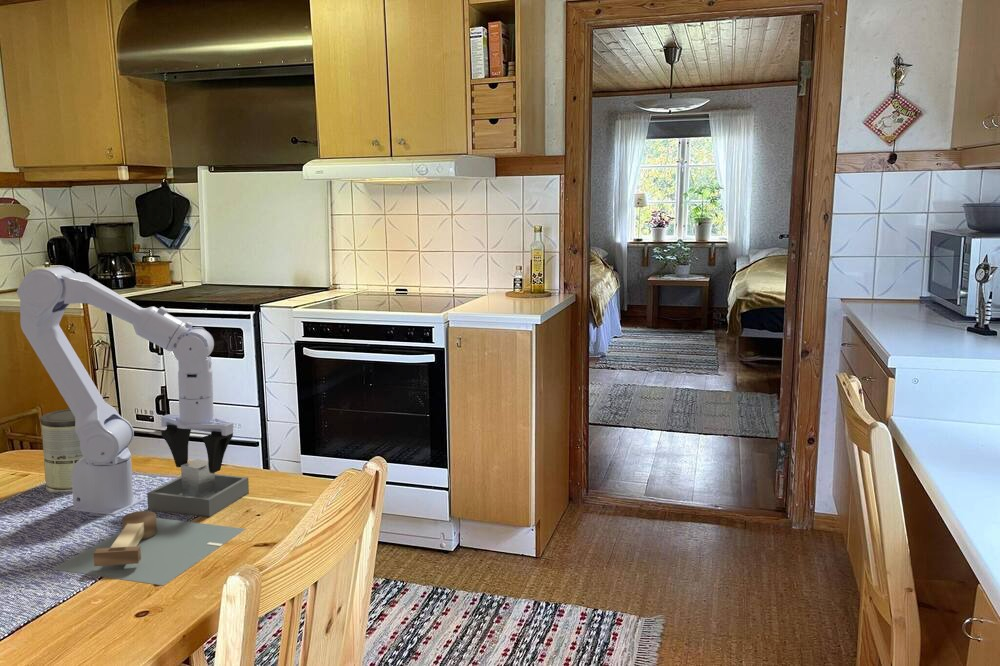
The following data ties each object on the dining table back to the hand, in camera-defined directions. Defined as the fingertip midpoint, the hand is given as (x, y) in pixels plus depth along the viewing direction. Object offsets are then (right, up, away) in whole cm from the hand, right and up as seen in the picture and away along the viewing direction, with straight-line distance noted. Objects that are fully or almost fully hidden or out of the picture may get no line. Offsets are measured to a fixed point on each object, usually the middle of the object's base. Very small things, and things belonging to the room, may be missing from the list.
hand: (198, 468), depth 140 cm
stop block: (0, -6, +1) cm, 6 cm away
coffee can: (-28, -5, +10) cm, 30 cm away
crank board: (+1, -9, -19) cm, 21 cm away
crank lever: (-3, -9, -20) cm, 22 cm away
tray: (0, -7, +1) cm, 7 cm away
